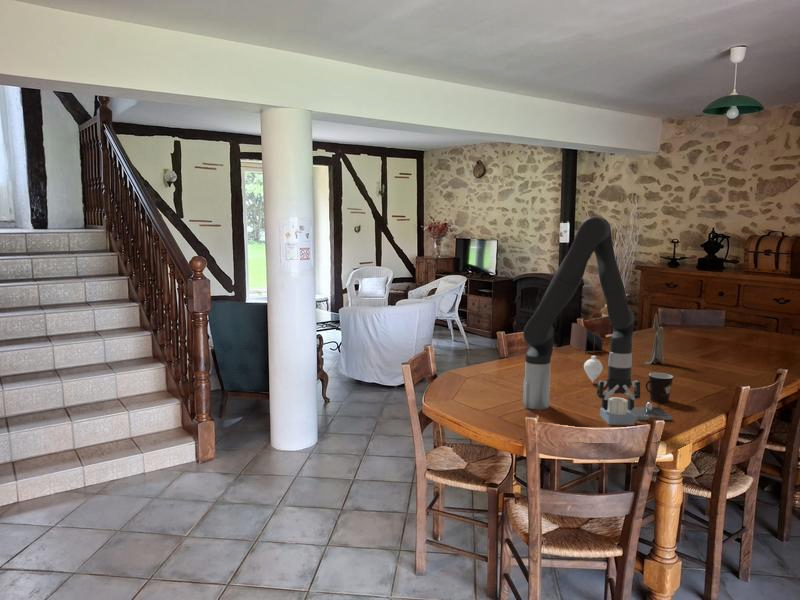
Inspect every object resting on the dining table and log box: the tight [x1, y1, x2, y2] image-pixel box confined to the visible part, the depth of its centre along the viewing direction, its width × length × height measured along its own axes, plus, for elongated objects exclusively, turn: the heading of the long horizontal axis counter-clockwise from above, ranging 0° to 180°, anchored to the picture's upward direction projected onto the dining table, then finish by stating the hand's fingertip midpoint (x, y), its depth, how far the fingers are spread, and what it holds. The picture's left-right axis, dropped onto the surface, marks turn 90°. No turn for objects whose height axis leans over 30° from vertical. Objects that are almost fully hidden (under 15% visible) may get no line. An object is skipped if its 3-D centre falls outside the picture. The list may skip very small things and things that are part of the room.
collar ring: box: [607, 396, 628, 415], centre depth 198 cm, size 6×6×4 cm
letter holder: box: [569, 322, 604, 354], centre depth 311 cm, size 10×20×14 cm, turn 6°
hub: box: [627, 401, 673, 422], centre depth 203 cm, size 12×10×5 cm
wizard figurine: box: [644, 313, 666, 365], centre depth 278 cm, size 10×8×25 cm
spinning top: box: [583, 355, 604, 384], centre depth 244 cm, size 8×8×12 cm
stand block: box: [599, 407, 636, 426], centre depth 199 cm, size 9×9×3 cm
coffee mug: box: [645, 372, 674, 404], centre depth 220 cm, size 12×9×10 cm
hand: (617, 409), depth 198 cm, fingers open, 8 cm apart
